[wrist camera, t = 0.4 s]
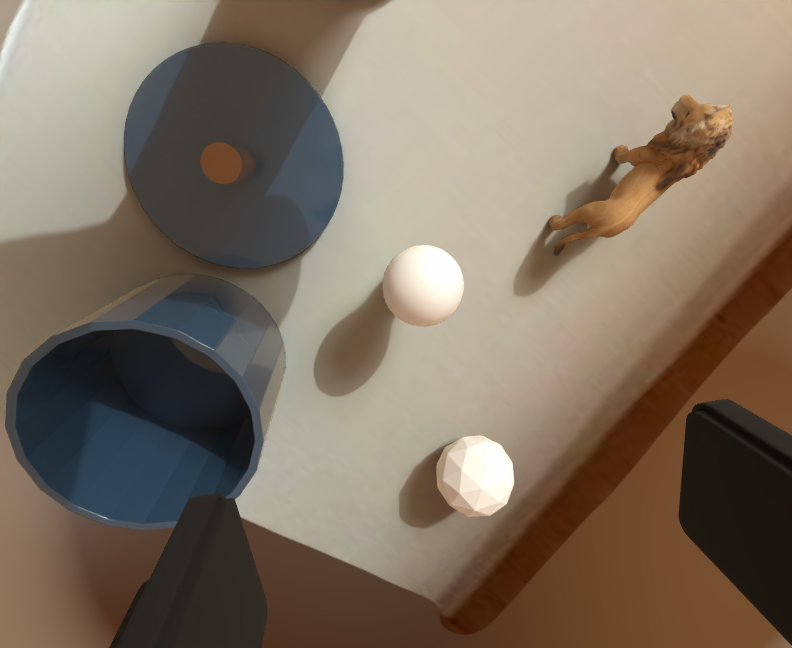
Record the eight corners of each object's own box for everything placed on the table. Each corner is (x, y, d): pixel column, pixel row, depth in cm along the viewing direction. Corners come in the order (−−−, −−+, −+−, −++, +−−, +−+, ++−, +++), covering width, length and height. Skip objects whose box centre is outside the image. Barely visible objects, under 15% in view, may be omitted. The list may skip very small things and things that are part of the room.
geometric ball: (465, 422, 51) (516, 423, 44) (487, 490, 51) (541, 501, 44) (411, 449, 47) (459, 455, 40) (435, 523, 47) (487, 541, 40)
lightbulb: (411, 309, 43) (432, 354, 33) (362, 268, 41) (367, 302, 31) (454, 261, 42) (490, 291, 31) (406, 217, 40) (427, 234, 30)
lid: (108, 46, 34) (59, 20, 28) (337, 47, 35) (335, 23, 29) (153, 269, 39) (119, 287, 33) (348, 261, 41) (349, 277, 35)
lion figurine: (637, 95, 39) (718, 75, 30) (678, 133, 40) (766, 124, 32) (532, 239, 42) (579, 257, 33) (573, 270, 43) (628, 294, 35)
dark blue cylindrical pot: (87, 277, 39) (-31, 328, 27) (276, 270, 40) (246, 314, 28) (127, 437, 44) (44, 540, 32) (293, 425, 46) (274, 519, 33)
